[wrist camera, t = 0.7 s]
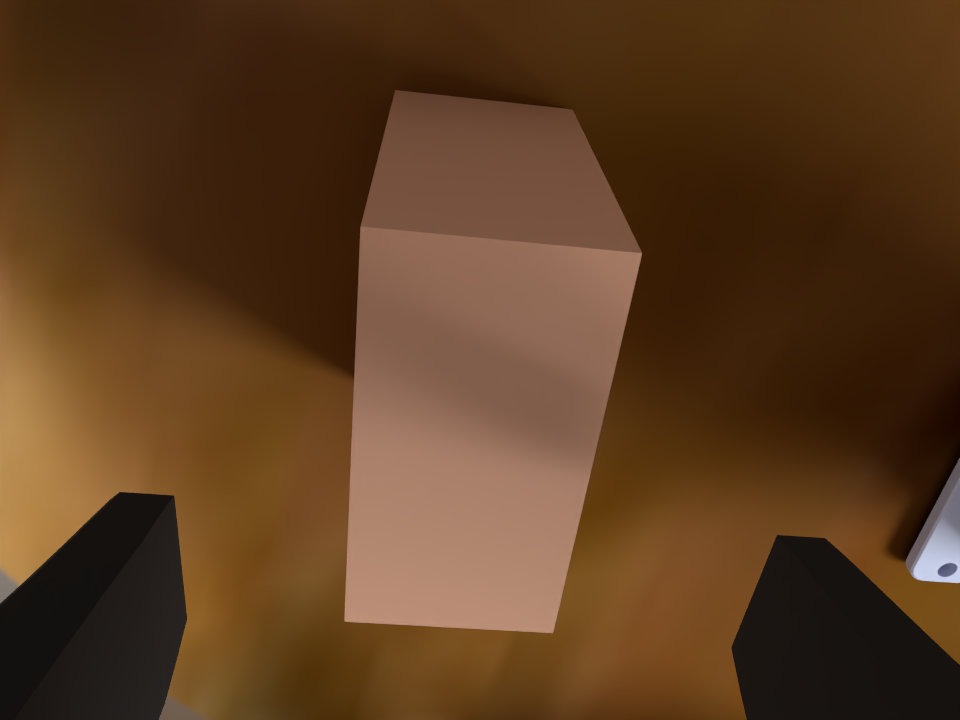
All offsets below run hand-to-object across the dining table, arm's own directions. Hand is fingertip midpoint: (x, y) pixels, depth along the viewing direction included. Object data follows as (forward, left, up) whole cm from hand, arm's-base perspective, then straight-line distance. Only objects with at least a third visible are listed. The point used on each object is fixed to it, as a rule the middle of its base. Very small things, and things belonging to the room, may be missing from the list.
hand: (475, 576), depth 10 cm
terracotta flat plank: (0, 0, -9) cm, 9 cm away
